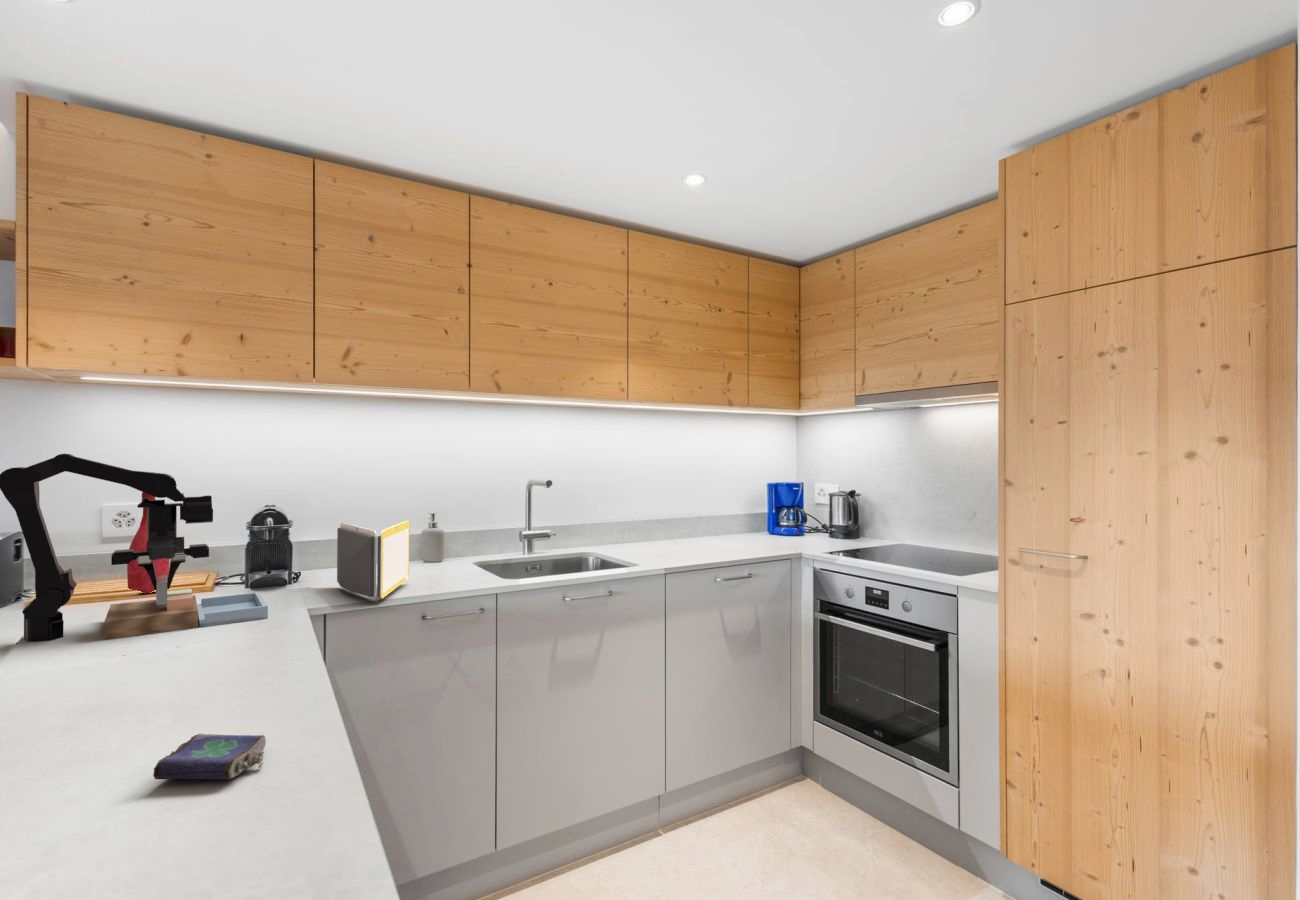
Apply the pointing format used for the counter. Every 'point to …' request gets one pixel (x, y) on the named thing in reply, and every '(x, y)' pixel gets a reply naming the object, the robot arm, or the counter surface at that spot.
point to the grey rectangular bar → (161, 590)
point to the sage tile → (179, 592)
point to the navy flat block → (212, 757)
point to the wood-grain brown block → (147, 619)
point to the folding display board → (372, 559)
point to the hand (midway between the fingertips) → (162, 589)
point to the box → (231, 609)
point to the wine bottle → (135, 573)
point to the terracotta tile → (179, 602)
